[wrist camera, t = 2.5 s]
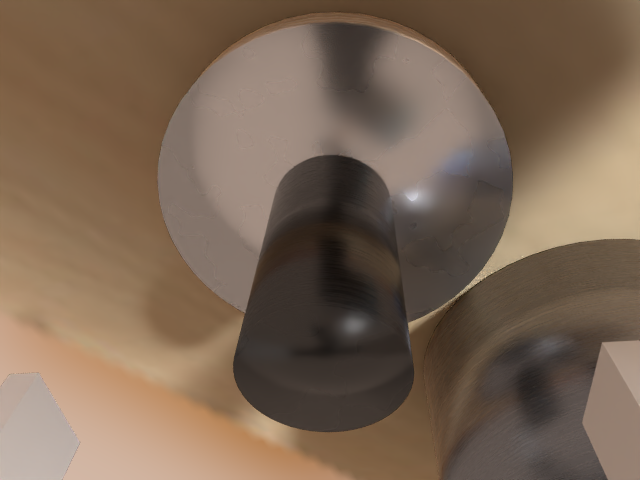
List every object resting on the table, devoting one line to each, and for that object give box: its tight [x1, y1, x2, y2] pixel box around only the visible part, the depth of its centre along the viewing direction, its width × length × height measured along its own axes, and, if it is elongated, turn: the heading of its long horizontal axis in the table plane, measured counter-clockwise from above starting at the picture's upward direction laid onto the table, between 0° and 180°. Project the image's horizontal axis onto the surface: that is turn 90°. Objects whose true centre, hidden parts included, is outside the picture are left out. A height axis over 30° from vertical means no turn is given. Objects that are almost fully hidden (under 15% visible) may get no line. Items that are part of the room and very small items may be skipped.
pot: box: [423, 239, 640, 480], centre depth 22 cm, size 15×15×10 cm
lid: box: [157, 12, 513, 432], centre depth 17 cm, size 13×13×10 cm
